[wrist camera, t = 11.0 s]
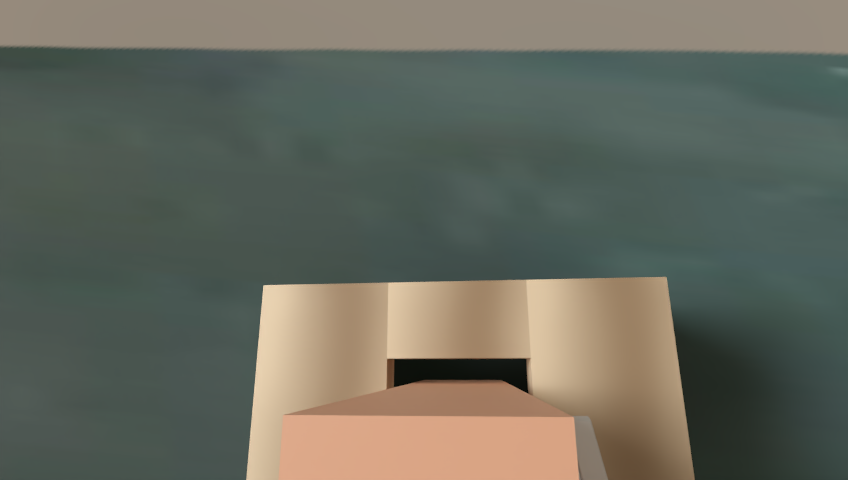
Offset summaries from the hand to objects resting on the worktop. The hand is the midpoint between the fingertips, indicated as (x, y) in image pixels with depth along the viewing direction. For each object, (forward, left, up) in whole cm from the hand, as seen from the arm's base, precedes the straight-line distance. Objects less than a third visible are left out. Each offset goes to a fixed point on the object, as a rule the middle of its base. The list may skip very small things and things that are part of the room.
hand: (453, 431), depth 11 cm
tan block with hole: (0, -1, -11) cm, 11 cm away
